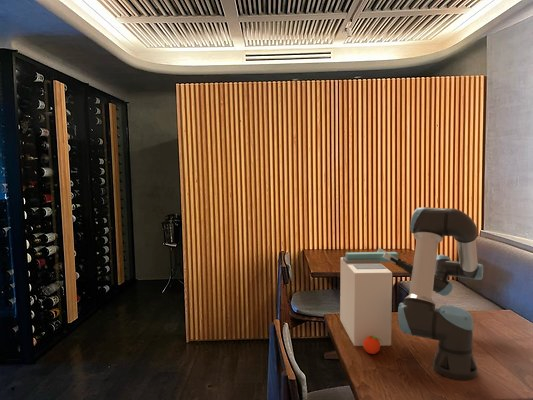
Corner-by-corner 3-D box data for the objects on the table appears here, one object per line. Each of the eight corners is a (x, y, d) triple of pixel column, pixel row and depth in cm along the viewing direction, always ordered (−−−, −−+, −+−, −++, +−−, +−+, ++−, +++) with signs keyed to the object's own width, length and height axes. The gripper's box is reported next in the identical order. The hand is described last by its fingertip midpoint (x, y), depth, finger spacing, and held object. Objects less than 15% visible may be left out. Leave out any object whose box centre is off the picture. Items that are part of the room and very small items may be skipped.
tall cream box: (371, 319, 204) (372, 254, 201) (391, 345, 174) (392, 269, 172) (340, 319, 204) (340, 254, 201) (354, 346, 174) (354, 269, 171)
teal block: (395, 260, 195) (395, 251, 194) (397, 261, 191) (398, 253, 190) (345, 260, 194) (345, 252, 194) (347, 262, 190) (347, 254, 190)
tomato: (382, 350, 169) (383, 334, 169) (383, 358, 163) (383, 341, 162) (363, 348, 171) (363, 332, 171) (362, 355, 165) (362, 339, 164)
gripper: (426, 288, 183) (384, 264, 182) (408, 275, 205) (370, 254, 203) (434, 274, 182) (392, 250, 181) (416, 262, 204) (378, 241, 203)
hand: (381, 252), depth 192 cm, fingers open, 9 cm apart
